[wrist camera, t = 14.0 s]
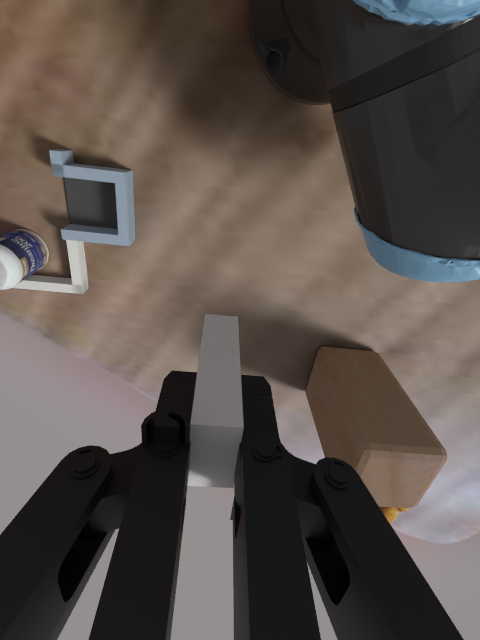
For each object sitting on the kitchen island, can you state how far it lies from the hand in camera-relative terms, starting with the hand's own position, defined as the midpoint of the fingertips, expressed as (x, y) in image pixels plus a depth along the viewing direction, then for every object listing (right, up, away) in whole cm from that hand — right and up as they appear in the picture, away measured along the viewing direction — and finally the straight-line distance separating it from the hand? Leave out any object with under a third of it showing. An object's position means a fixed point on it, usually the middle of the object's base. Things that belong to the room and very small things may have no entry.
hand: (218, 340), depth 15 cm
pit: (-17, +15, +25) cm, 33 cm away
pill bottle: (-26, +10, +27) cm, 39 cm away
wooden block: (+17, -7, +39) cm, 43 cm away
